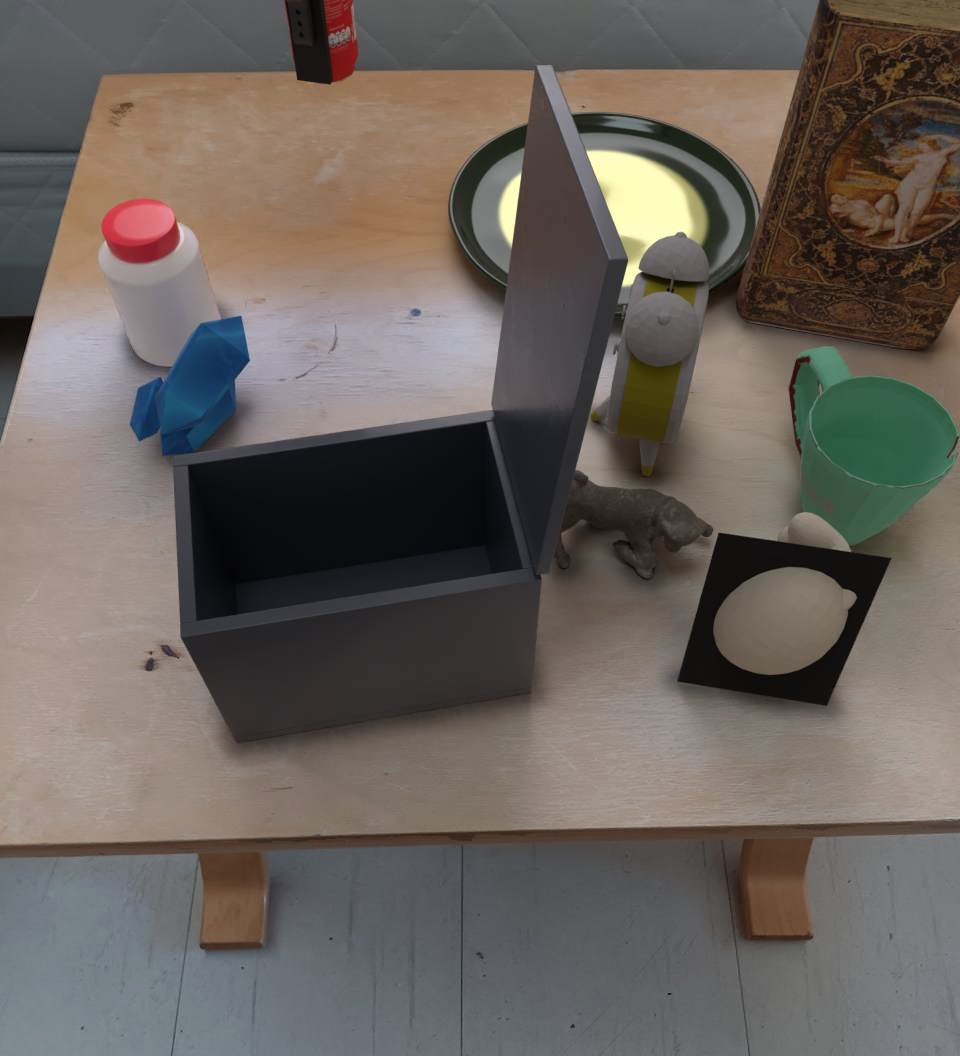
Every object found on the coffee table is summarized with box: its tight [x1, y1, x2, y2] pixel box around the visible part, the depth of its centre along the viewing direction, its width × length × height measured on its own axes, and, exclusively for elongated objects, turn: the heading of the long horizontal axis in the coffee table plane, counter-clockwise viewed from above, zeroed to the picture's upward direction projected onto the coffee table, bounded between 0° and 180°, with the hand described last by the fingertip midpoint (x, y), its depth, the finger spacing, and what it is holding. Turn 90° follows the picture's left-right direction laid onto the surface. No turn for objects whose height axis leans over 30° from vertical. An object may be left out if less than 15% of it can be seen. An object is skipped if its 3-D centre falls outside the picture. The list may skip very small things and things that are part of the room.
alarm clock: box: [589, 232, 710, 477], centre depth 72 cm, size 12×7×15 cm, turn 167°
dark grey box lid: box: [490, 64, 628, 575], centre depth 49 cm, size 21×13×1 cm
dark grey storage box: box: [172, 409, 543, 744], centre depth 63 cm, size 20×13×14 cm, turn 101°
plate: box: [447, 111, 762, 318], centre depth 89 cm, size 28×28×2 cm
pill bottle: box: [97, 198, 222, 368], centre depth 79 cm, size 8×8×11 cm
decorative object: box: [676, 511, 892, 707], centre depth 64 cm, size 13×10×10 cm
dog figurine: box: [554, 469, 715, 579], centre depth 69 cm, size 12×6×7 cm, turn 74°
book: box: [735, 0, 960, 351], centre depth 74 cm, size 16×6×25 cm, turn 76°
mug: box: [788, 345, 960, 547], centre depth 71 cm, size 15×10×10 cm
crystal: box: [129, 315, 251, 457], centre depth 75 cm, size 7×9×12 cm
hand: (326, 58), depth 79 cm, fingers closed on beverage can, 5 cm apart
